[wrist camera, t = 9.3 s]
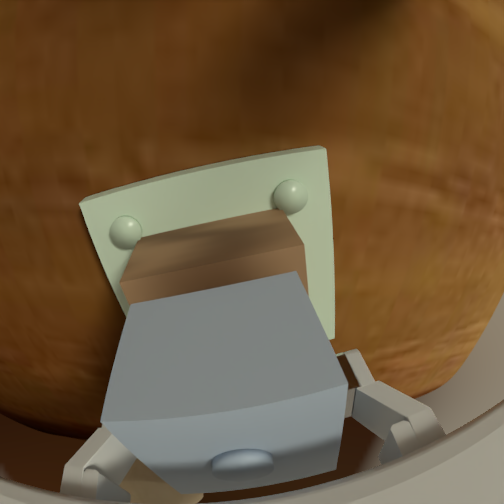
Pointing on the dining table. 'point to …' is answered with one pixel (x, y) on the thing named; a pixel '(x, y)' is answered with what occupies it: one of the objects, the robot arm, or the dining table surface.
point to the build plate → (223, 212)
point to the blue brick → (228, 387)
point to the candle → (153, 488)
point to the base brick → (213, 256)
